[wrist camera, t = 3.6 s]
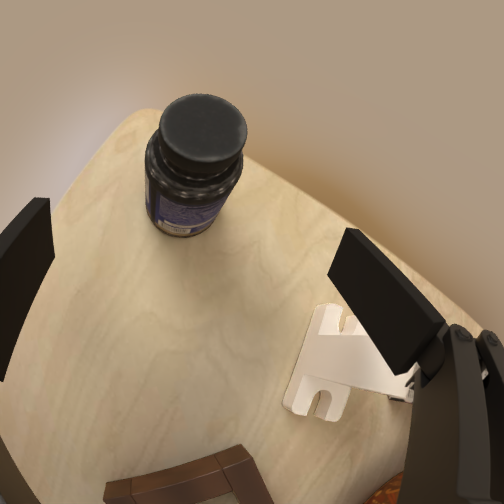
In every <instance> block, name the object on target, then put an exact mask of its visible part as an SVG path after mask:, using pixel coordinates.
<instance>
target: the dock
mask: <svg viewBox="0 0 504 504" xmlns="http://www.w3.org/2000/svg"><path fill="white" fill-rule="evenodd" d="M231 491H233V493H234V495H235V496H236V498H237V500H238V502H239V504H274V502H273V500H272V498H271V496H270V494H269V492H268V490H267V488H266V486H265V484H264V482H263V479H262V477H261V475H260V473H259V471H258V469H257V466H256V464H255V462H254V460H253V458H252V456H251V455H250V454H249V453H248V452H247V450H246V449H245V448H244V447H243V446H242V444H239V445H236V446H234V447H231V448H229V449H226V450H223V451H221V452H218V453H215V454H213V455H210V456H207V457H204V458H201V459H198V460H195V461H192V462H189V463H186V464H182V465H179V466H176V467H172V468H169V469H165V470H162V471H158V472H154V473H150V474H146V475H142V476H137V477H133V478H128V479H123V480H118V481H113V482H107V483H106V486H105V491H104V496H103V501H104V502H105V504H195V503H198V502H202V501H205V500H208V499H211V498H214V497H217V496H220V495H222V494H225V493H228V492H231Z"/></svg>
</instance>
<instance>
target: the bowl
mask: <svg viewBox="0 0 504 504" xmlns="http://www.w3.org/2000/svg"><path fill="white" fill-rule="evenodd" d="M402 476H403V472H401V473H400V474H398V475H397V476H395V477H394V478H392V479H391V480H390V481H388V482H387V483H386V484H384V485H383V486H382V487H381V488H379V489H378V490H377V491H376V492H375V493H374V494H373V495H372V496H371V497H370V498H369V499H368V500H367V501H366V502H365V503H364V504H396V502H397V498H398V494H399V490H400V486H401V481H402Z"/></svg>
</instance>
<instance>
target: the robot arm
mask: <svg viewBox="0 0 504 504" xmlns="http://www.w3.org/2000/svg"><path fill="white" fill-rule="evenodd" d="M54 258H55V253H54V245H53V236H52V225H51V213H50V198H36V197H35V198H33V199H32V200H31V201H30V202H29V203H28V204H27V205H26V206H25V207H24V208H23V209H22V210H21V212H20V213H19V214H18V215H17V216H16V217H15V218H14V219H13V220H12V221H11V222H10V224H9V225H8V226H7V227H6V228H5V229H4V230H3V232H2V233H1V234H0V381H1V382H3V381H4V378H5V374H6V371H7V368H8V365H9V362H10V359H11V356H12V353H13V350H14V347H15V345H16V342H17V339H18V337H19V334H20V331H21V329H22V326H23V324H24V321H25V319H26V317H27V314H28V312H29V310H30V307H31V305H32V303H33V301H34V298H35V296H36V294H37V292H38V290H39V288H40V285H41V283H42V281H43V279H44V277H45V275H46V273H47V271H48V269H49V267H50V266H51V264H52V262H53V260H54ZM327 276H328V277H329V278H330V280H331V281H332V283H333V284H334V285H335V287H336V288H337V290H338V291H339V293H340V294H341V296H342V297H343V298H344V300H345V301H346V303H347V304H348V306H349V307H350V309H351V310H352V312H353V313H354V315H355V316H356V318H357V319H358V320H359V322H360V323H361V325H362V326H363V328H364V329H365V331H366V332H367V334H368V335H369V337H370V339H371V340H372V342H373V343H374V345H375V346H376V348H377V349H378V351H379V352H380V354H381V355H382V357H383V358H384V360H385V362H386V363H387V365H388V366H389V368H390V369H391V371H392V373H393V374H394V376H397V375H401V374H404V373H408V371H409V370H410V369H411V368H412V367H413V365H414V364H415V363H416V362H417V364H418V365H419V366H420V367H419V368H418V369H417V371H416V372H415V373H414V374H413V375H412V377H411V378H410V379H409V380H408V381H407V382H406V384H405V387H408V386H409V384H410V383H411V382H414V384H413V385H412V386H411V388H410V389H412V390H414V396H413V408H412V418H411V427H410V434H409V442H408V448H407V454H406V460H405V466H404V471H403V476H402V481H401V486H400V490H399V494H398V498H397V502H396V504H504V347H503V345H502V343H501V342H500V340H499V339H498V337H497V336H496V334H495V333H493V332H492V331H488V330H483V331H482V332H481V333H480V335H479V336H478V338H477V339H476V338H473V336H472V335H471V334H470V333H469V332H468V331H467V330H466V329H465V328H464V327H462V326H460V325H457V324H452V325H451V326H450V327H449V326H448V324H447V323H446V320H445V319H444V318H443V317H442V316H441V314H440V313H439V312H438V311H437V310H436V309H435V308H434V306H433V305H432V304H431V303H430V302H429V301H428V300H427V299H426V298H425V296H424V295H423V294H422V293H421V292H420V291H419V290H418V289H417V288H416V287H415V286H414V285H413V283H412V282H411V281H410V280H409V279H408V278H407V277H406V276H405V275H404V274H403V273H402V272H401V271H400V270H399V269H398V268H397V267H396V266H395V265H394V264H393V263H392V262H391V261H390V260H389V259H388V258H387V257H386V256H385V255H384V254H383V253H382V252H381V251H380V250H379V249H378V248H377V247H376V246H375V245H374V244H373V243H372V242H371V241H370V240H369V239H368V238H367V237H366V236H365V235H364V234H363V233H362V232H361V231H360V230H359V229H353V228H347V227H346V229H345V232H344V235H343V237H342V240H341V242H340V245H339V247H338V250H337V252H336V255H335V257H334V260H333V262H332V264H331V267H330V269H329V272H328V274H327ZM485 369H487V372H488V375H487V376H486V377H485V378H484V379H483V380H482V375H481V374H482V373H483V371H484V370H485ZM0 504H41V503H40V502H39V500H38V499H37V498H36V496H35V495H34V493H33V492H32V490H31V489H30V487H29V486H28V484H27V483H26V481H25V479H24V478H23V476H22V475H21V473H20V471H19V470H18V468H17V466H16V464H15V463H14V461H13V459H12V457H11V455H10V454H9V452H8V450H7V448H6V446H5V444H4V442H3V440H2V438H1V436H0Z"/></svg>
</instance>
